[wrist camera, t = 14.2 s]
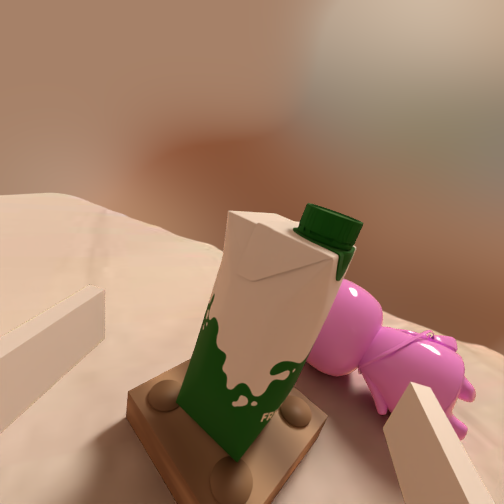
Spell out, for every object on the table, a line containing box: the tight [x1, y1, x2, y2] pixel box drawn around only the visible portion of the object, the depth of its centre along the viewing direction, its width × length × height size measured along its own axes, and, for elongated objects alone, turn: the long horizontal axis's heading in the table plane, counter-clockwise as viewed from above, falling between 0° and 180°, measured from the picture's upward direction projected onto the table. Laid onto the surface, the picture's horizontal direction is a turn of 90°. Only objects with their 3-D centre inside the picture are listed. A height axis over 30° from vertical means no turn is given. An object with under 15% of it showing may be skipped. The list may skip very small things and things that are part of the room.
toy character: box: [306, 279, 476, 441], centre depth 36 cm, size 16×13×25 cm
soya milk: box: [176, 203, 363, 463], centre depth 22 cm, size 9×9×20 cm
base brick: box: [126, 359, 328, 504], centre depth 26 cm, size 14×14×4 cm
